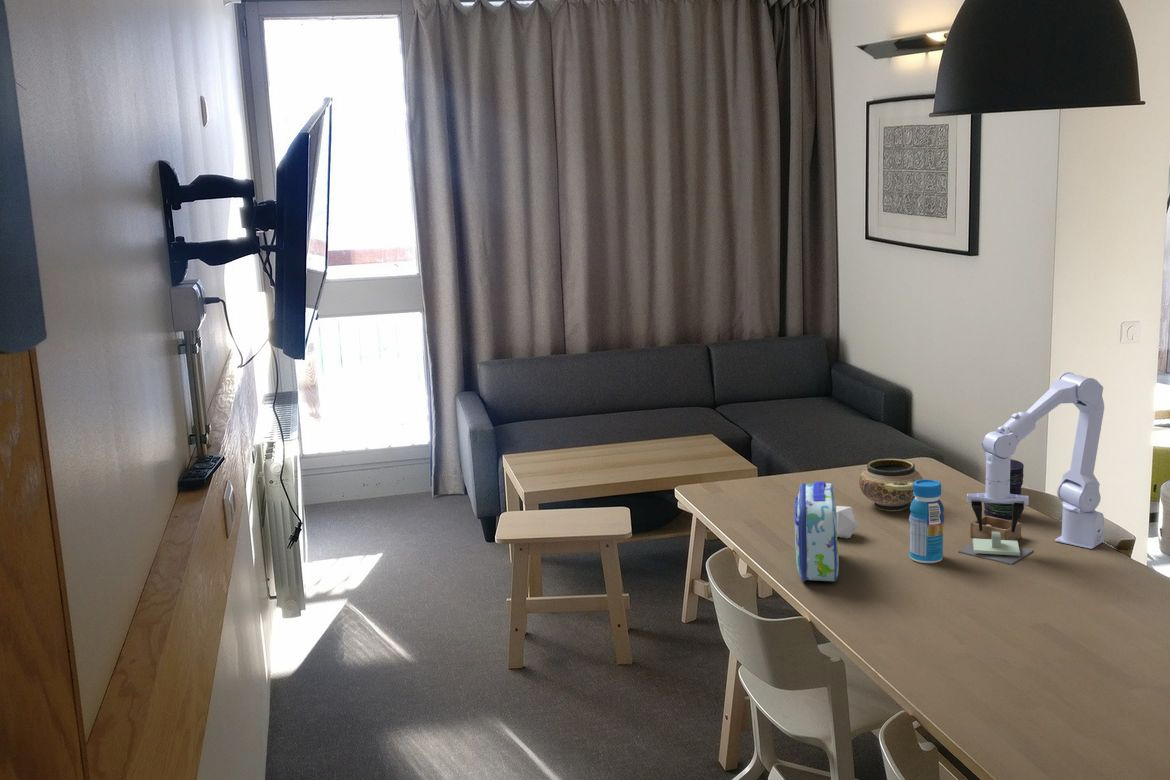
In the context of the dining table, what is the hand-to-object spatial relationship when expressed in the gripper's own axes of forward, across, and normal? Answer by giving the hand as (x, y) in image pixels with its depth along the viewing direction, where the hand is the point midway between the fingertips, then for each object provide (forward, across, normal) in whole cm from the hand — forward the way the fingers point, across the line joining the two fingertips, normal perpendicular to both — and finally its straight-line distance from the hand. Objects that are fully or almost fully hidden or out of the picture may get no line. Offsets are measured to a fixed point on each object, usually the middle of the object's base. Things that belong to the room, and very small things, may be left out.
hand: (996, 530), depth 274 cm
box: (+6, 0, -11) cm, 13 cm away
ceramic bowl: (+6, +27, -33) cm, 43 cm away
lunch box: (+6, +43, +20) cm, 48 cm away
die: (+6, +39, -6) cm, 40 cm away
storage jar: (+6, -3, -30) cm, 31 cm away
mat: (+6, 0, 0) cm, 6 cm away
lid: (+5, 0, 0) cm, 5 cm away
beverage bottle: (+6, +17, +8) cm, 20 cm away
